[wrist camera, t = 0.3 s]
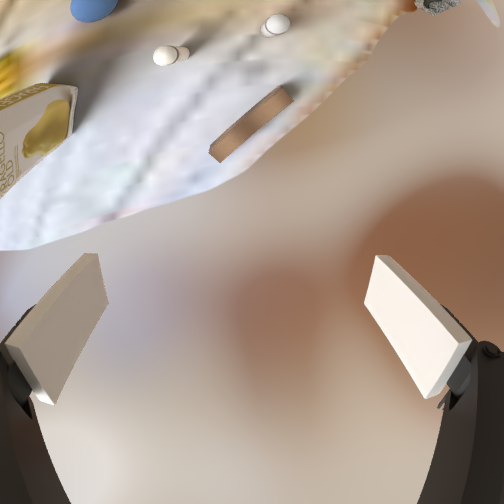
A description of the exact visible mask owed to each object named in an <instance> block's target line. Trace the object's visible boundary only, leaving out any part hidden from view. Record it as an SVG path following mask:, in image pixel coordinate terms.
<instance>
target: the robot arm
mask: <svg viewBox="0 0 504 504" xmlns="http://www.w3.org/2000/svg"><path fill="white" fill-rule="evenodd" d="M108 304H109V303H108V299H107V295H106V291H105V286H104V283H103V278H102V273H101V268H100V263H99V258H98V254H87V253H84V254H83V255H82V256H81V257H80V258H79V259H78V260H77V261H76V262H75V263H74V264H73V265H72V266H71V267H70V268H69V269H68V270H67V271H66V272H65V274H64V275H63V276H62V277H61V278H60V279H59V280H58V281H57V282H56V283H55V284H54V285H53V286H52V287H51V289H49V291H48V292H47V293H46V294H45V295H44V296H43V297H42V298H41V299H40V301H39V302H38V303H37V304H35V305H34V306H33V307H31V308H30V309H28V310H27V311H26V312H25V314H24V315H23V316H22V317H21V320H19V321H18V322H17V323H16V326H14V327H13V328H12V329H11V331H10V332H9V333H8V334H7V336H6V337H5V338H4V339H3V341H2V342H1V343H0V504H71V503H70V501H69V499H68V497H67V495H66V493H65V491H64V489H63V487H62V484H61V482H60V480H59V478H58V476H57V473H56V471H55V468H54V466H53V464H52V461H51V459H50V456H49V453H48V450H47V448H46V445H45V442H44V439H43V436H42V433H41V430H40V426H39V423H38V420H37V416H36V412H35V409H34V405H33V402H32V400H31V398H30V397H29V395H30V393H31V391H32V390H33V392H34V393H35V395H36V396H37V398H38V399H39V400H40V401H43V402H46V403H49V404H52V405H55V404H56V402H57V399H58V397H59V395H60V393H61V391H62V389H63V387H64V384H65V382H66V380H67V378H68V376H69V374H70V372H71V370H72V368H73V366H74V364H75V362H76V360H77V359H78V357H79V355H80V353H81V351H82V349H83V347H84V346H85V344H86V342H87V340H88V338H89V336H90V335H91V333H92V331H93V329H94V328H95V326H96V324H97V322H98V321H99V319H100V317H101V315H102V314H103V312H104V310H105V309H106V307H107V305H108ZM364 304H365V305H366V307H367V308H368V310H369V311H370V313H371V314H372V316H373V317H374V319H375V320H376V322H377V323H378V325H379V326H380V328H381V329H382V330H383V332H384V333H385V335H386V337H387V338H388V340H389V341H390V343H391V344H392V346H393V348H394V349H395V351H396V352H397V354H398V356H399V357H400V359H401V360H402V362H403V364H404V365H405V367H406V368H407V370H408V372H409V373H410V375H411V376H412V378H413V380H414V382H415V383H416V385H417V387H418V388H419V390H420V392H421V393H422V395H423V397H424V399H427V398H430V397H433V396H435V395H438V394H439V393H440V392H441V391H442V389H443V388H444V386H445V385H446V383H447V385H448V386H449V388H450V389H449V391H448V392H447V394H446V395H445V396H444V398H443V399H442V401H441V402H440V403H439V405H438V407H437V408H440V407H441V406H442V404H443V403H445V405H444V408H443V410H444V411H443V416H442V421H441V426H440V431H439V435H438V439H437V444H436V448H435V451H434V455H433V459H432V462H431V465H430V469H429V472H428V475H427V478H426V481H425V484H424V487H423V490H422V492H421V495H420V498H419V500H418V503H417V504H504V352H501V351H500V349H499V348H498V347H497V346H496V345H494V344H493V343H491V342H488V341H481V342H479V343H478V342H477V340H476V339H475V338H474V337H473V336H472V335H471V334H470V332H469V331H468V330H467V329H466V328H465V327H464V326H463V325H462V324H461V323H459V320H458V319H456V317H454V315H453V314H452V313H451V312H450V311H449V310H448V309H447V308H445V307H444V306H442V305H441V304H439V303H438V302H437V301H436V300H435V299H434V298H433V297H432V296H431V295H430V294H429V293H428V292H427V291H426V290H425V289H424V288H423V287H422V286H421V285H420V284H419V283H418V282H417V281H416V280H415V279H413V277H411V275H410V274H408V273H407V272H406V271H405V270H404V269H403V268H402V267H401V266H400V265H399V264H398V263H397V262H396V261H394V260H393V259H392V258H391V257H390V256H389V255H376V257H375V262H374V267H373V271H372V275H371V279H370V283H369V287H368V291H367V295H366V298H365V302H364Z"/></svg>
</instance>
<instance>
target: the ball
mask: <svg viewBox="0 0 504 504" xmlns="http://www.w3.org/2000/svg"><path fill="white" fill-rule="evenodd" d="M117 3H118V0H72V1H71V13H72V15H73V16H74V17H75V18H76V19H77V20H79V21H81V22H95V21H98V20H100V19H102V18H104V17H106V16H107V15H109V14H110V13H111V12H112V11H113V9H114V8H115V6H116V5H117Z"/></svg>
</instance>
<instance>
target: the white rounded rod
mask: <svg viewBox="0 0 504 504" xmlns="http://www.w3.org/2000/svg"><path fill="white" fill-rule="evenodd" d="M289 27H290V21H289V19H288V18H287V17H286V16H284V15H282V14H275V15H273V16H271V17H269V18H268V19H267V20H266V22H265V23H264V24H263V25H262V26H261V28H260V33H261V34H262V35H263V36H264V37H268V38H270V37H273V36H276V35H279V34H282V33H284V32H286V31H287V30H288V29H289Z"/></svg>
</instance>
